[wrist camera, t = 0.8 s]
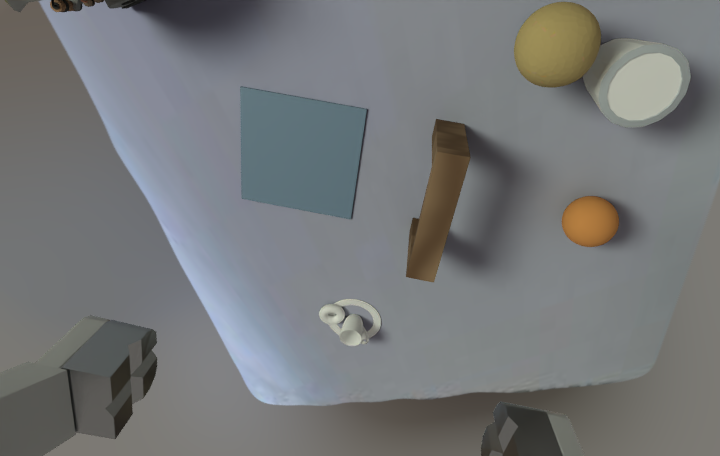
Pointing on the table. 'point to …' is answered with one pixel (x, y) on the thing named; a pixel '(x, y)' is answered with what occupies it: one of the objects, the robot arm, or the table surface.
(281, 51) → the table surface
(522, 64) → the light bulb
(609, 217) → the ball
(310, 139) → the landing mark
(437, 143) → the bridge
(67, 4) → the figurine
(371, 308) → the mug and donut ornament
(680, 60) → the white cylinder
